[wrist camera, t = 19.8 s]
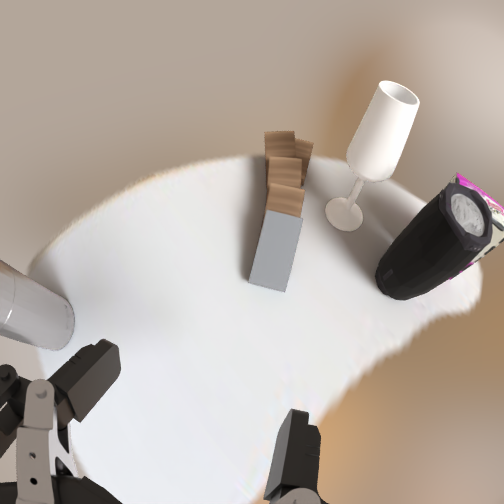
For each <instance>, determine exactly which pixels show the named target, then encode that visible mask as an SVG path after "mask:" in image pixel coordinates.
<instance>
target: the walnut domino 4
mask: <svg viewBox="0 0 504 504" xmlns="http://www.w3.org/2000/svg"><path fill="white" fill-rule="evenodd" d="M313 144H314V143H312V142H308V141H304V140H300V139H296V138H295V148H296V158H299V159H302V168H301V185H302V186H303V184H304V180H305V176H306V172H307V168H308V164H309V160H310V156H311V152H312V148H313Z"/></svg>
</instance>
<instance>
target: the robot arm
mask: <svg viewBox="0 0 504 504" xmlns="http://www.w3.org/2000/svg"><path fill="white" fill-rule="evenodd" d="M73 330H74V314H73V310H72V308H71V306H70V304H69V303H68V301H67V300H65V299H64V298H63V297H61V296H59V295H57V294H55V293H54V292H52V291H50V290H48V289H47V288H45V287H43V286H42V285H40V284H38V283H37V282H35V281H33V280H32V279H30V278H28V277H27V276H25V275H23V274H22V273H20V272H19V271H17V270H16V269H14V268H12V267H11V266H10V265H8V264H6V263H5V262H3V261H2V260H0V335H1V336H4V337H7V338H10V339H13V340H17V341H20V342H23V343H27V344H30V345H34V346H37V347H41V348H45V349H49V350H53V351H54V350H60V349H62V348H63V347H65V346H66V344H67V343H68V342H69V340H70V339H71V336H72V334H73ZM120 371H121V364H120V357H119V348H118V346H117V345H115V344H113V343H111V342H109V341H107V340H106V339H101V340H100V341H99V342H98V343H97V344H96V345H95V346H94V345H92V344H90V345H88V346H85V347H83V348H81V349H80V350H79V351H78V352H77V353H76V354H75V356H72V357H71V358H70V359H69V361H67V362H66V363H65V364H64V365H63V366H62V367H61V368H60V369H58V370H57V371H56V372H55V373H54V374H53V375H52V376H51V377H50V378H49V379H47V380H44V379H38V380H34V381H30V380H27V379H25V378H23V377H20V376H18V374H17V373H16V370H15V369H14V368H13V367H12V366H11V365H7V364H5V365H1V366H0V408H1V407H2V406H3V405H4V404H5V403H6V402H7V404H6V405H5V407H4V408H3V409H2V410H1V411H0V458H1V457H2V456H3V454H4V453H5V452H6V450H7V449H8V448H9V446H10V445H11V444H12V442H13V441H14V440H15V439H16V437H17V441H16V442H17V443H16V469H17V470H16V471H17V482H5V483H0V504H122V503H121V502H120V501H119V500H117V499H116V498H115V497H114V496H113V495H112V494H110V493H109V492H108V491H107V490H106V489H105V488H103V487H101V486H100V485H98V484H96V483H95V482H93V481H91V480H90V479H88V478H87V477H85V476H84V477H83V478H82V479H81V478H78V472H77V468H76V465H75V462H74V460H73V455H72V444H71V428H70V421H71V420H72V419H73V418H74V419H76V420H77V421H78V422H80V423H81V421H82V420H83V419H84V418H85V416H86V415H87V414H88V413H89V412H90V410H91V409H92V408H93V407H94V406H95V404H96V403H97V402H98V401H99V400H100V398H101V397H102V396H103V395H104V394H105V392H106V391H107V390H108V389H109V388H110V386H111V385H112V384H113V383H114V382H115V381H116V379H117V378H118V376H119V374H120ZM308 420H309V413H308V412H305V411H300V410H295V409H291V410H290V411H289V413H288V415H287V417H286V418H285V420H284V422H283V423H282V425H281V427H280V429H279V432H278V435H277V439H276V444H275V449H274V454H273V459H272V463H271V468H270V473H269V477H268V481H267V486H266V490H265V494H264V498H263V499H264V500H269V501H270V503H269V504H328V503H326V502H325V501H323V500H322V499H321V498H320V496H319V494H318V491H317V480H318V470H319V456H320V444H321V442H320V441H321V435H320V433H319V430H318V428H317V426H314V425H308Z"/></svg>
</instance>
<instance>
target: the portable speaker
mask: <svg viewBox="0 0 504 504" xmlns="http://www.w3.org/2000/svg"><path fill="white" fill-rule="evenodd" d="M492 234H493V225H492V212H491V210H490V208H489V206H488V204H487V202H486V201H485V200H484V199H483V198H482V196H481V195H480V194H479V193H478V192H477V191H476V190H473V189H470V188H468V187H465V186H463V185H460V184H458V183H450V182H449V184H448V185H447V186H446V188H445V189H444V190H442V191H441V192H440V193H439V194H438V195H437V196H436V197H435V198H434V199H433V200H431V201H430V202H429V203H428V204H427V205H426V206H425V207H423V208H422V209H421V211H420V212H419V213H418V214H417V215H416V217H415V218H414V219H413V220H412V221H411V222H410V224H409V225H408V226H407V227H406V228H405V229H404V230H403V232H402V233H401V234H400V235H399V236H398V237H397V238H396V239H395V240H394V242H393V243H392V245H391V246H390V247H389V249H388V250H387V252H386V253H385V254H384V256H383V257H382V259H381V260H380V262H379V266H378V268H377V271H376V275H375V277H376V281H377V284H378V287H379V289H380V290H381V291H382V292H383V294H385V295H389V296H390V297H391V298H394V299H396V300H408V299H411V298H414V297H417V296H419V295H422V294H425V293H427V292H429V291H430V290H432V289H434V288H435V287H437V286H439V285H440V284H442V283H443V282H445V281H446V280H448V279H449V278H451V277H453V276H454V275H456V274H457V273H459V272H460V271H461V270H463V269H464V268H465V267H466V266H467V265H468V264H469V263H470V262H471V261H472V260H473V259H474V258H475V257H476V256H477V255H478V254H479V253H480V252H481V251H482V250H483V249H484V248H485V247H486V246H487V245H488V244H490V242H491V239H492Z"/></svg>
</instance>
